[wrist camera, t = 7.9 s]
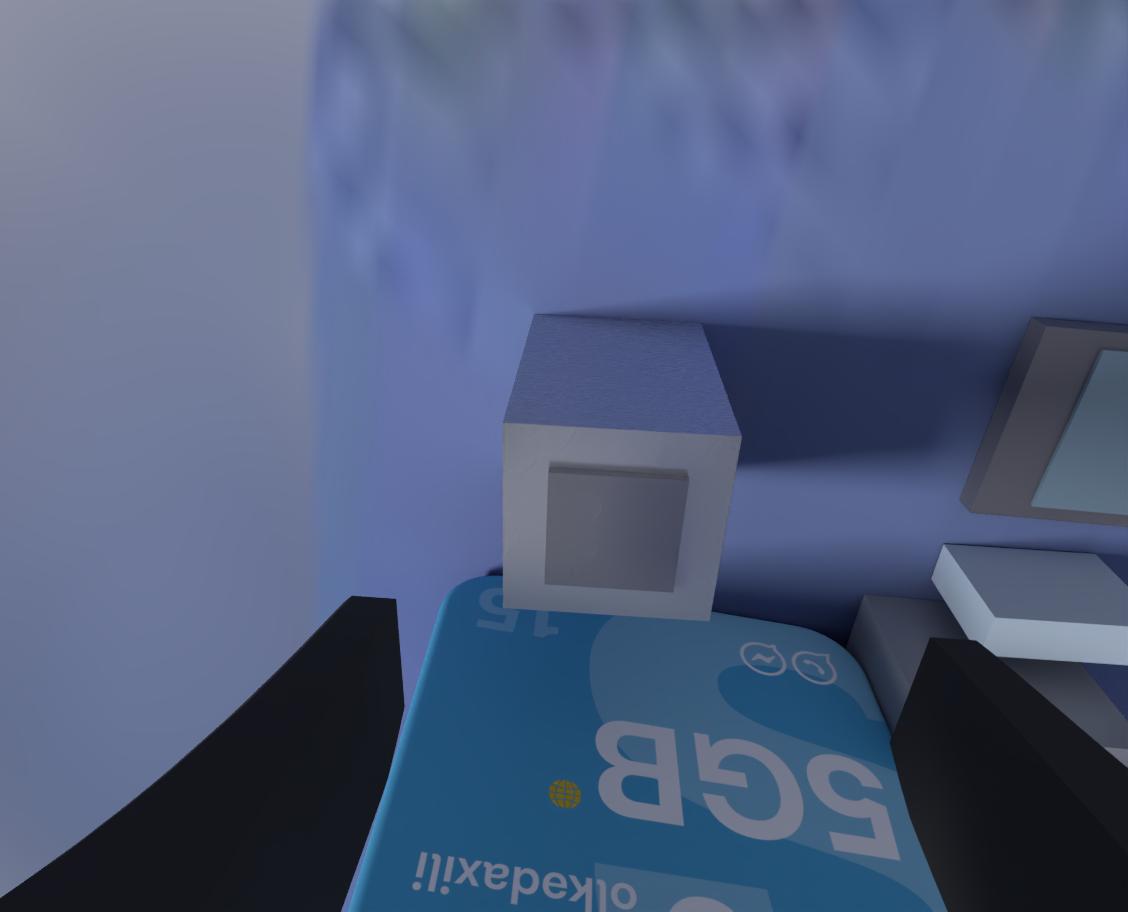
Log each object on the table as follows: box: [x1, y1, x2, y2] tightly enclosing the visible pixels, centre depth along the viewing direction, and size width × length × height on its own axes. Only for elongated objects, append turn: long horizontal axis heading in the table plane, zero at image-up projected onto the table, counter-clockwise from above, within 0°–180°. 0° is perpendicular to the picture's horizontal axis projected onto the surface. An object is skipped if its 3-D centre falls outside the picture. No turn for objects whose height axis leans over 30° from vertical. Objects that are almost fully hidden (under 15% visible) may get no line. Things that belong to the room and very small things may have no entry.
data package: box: [348, 576, 947, 912], centre depth 17 cm, size 12×4×12 cm, turn 80°
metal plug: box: [503, 314, 742, 621], centre depth 16 cm, size 4×4×6 cm
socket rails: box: [931, 544, 1128, 665], centre depth 21 cm, size 9×4×3 cm, turn 178°
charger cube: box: [845, 594, 1128, 768], centre depth 20 cm, size 5×5×5 cm
